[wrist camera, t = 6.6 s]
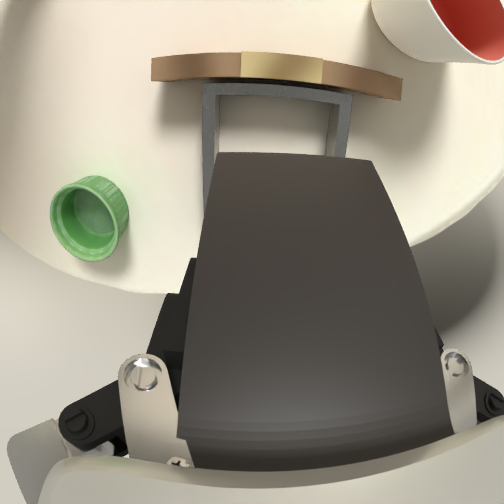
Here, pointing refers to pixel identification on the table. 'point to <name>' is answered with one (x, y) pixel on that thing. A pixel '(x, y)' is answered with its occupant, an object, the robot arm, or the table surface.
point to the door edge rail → (276, 71)
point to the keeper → (212, 92)
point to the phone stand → (306, 322)
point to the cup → (444, 29)
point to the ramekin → (89, 217)
